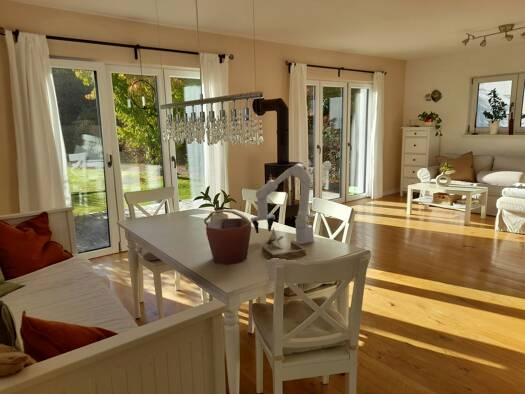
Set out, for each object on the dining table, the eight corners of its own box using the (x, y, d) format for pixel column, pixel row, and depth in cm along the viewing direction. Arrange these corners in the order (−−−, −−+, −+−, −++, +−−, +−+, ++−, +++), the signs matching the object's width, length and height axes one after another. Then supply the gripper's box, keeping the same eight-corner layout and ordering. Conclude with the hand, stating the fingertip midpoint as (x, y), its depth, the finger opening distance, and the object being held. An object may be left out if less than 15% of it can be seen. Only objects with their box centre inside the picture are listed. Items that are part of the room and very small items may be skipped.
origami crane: (260, 235, 208) (269, 225, 202) (276, 239, 213) (285, 230, 206) (261, 251, 201) (271, 242, 195) (278, 255, 206) (288, 246, 199)
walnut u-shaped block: (292, 246, 204) (292, 241, 204) (305, 254, 191) (305, 249, 190) (262, 251, 198) (261, 246, 197) (273, 260, 184) (273, 255, 183)
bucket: (197, 261, 188) (193, 213, 183) (225, 248, 206) (222, 204, 201) (236, 270, 174) (233, 218, 169) (262, 255, 192) (260, 208, 187)
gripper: (271, 206, 221) (271, 228, 224) (248, 209, 216) (249, 232, 218) (276, 208, 215) (276, 231, 217) (252, 211, 209) (253, 235, 212)
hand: (263, 232), depth 217 cm, fingers open, 7 cm apart
